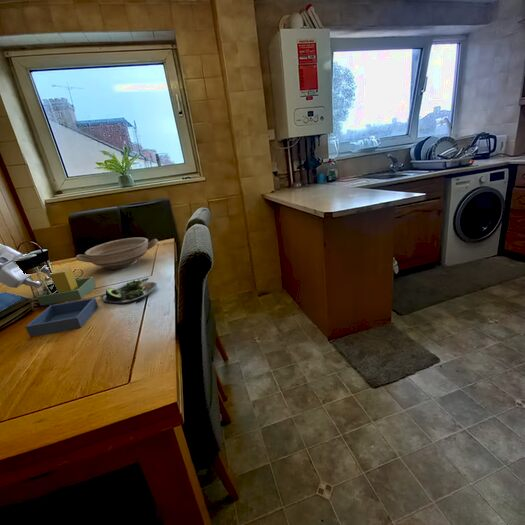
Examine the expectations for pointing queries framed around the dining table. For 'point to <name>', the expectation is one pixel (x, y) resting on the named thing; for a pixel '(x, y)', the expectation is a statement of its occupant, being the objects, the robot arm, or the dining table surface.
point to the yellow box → (64, 280)
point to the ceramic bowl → (117, 252)
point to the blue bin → (62, 317)
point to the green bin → (68, 292)
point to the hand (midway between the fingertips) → (47, 281)
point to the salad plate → (129, 292)
